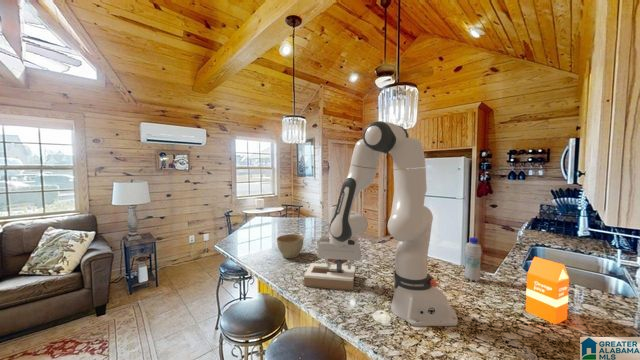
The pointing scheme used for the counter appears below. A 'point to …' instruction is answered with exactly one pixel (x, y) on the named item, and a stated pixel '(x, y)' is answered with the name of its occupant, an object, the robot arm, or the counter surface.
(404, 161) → the robot arm
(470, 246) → the bottle
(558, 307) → the orange juice
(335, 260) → the wooden tablet
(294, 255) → the planter bowl
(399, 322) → the counter surface
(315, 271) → the keyhole plate
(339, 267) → the peg
